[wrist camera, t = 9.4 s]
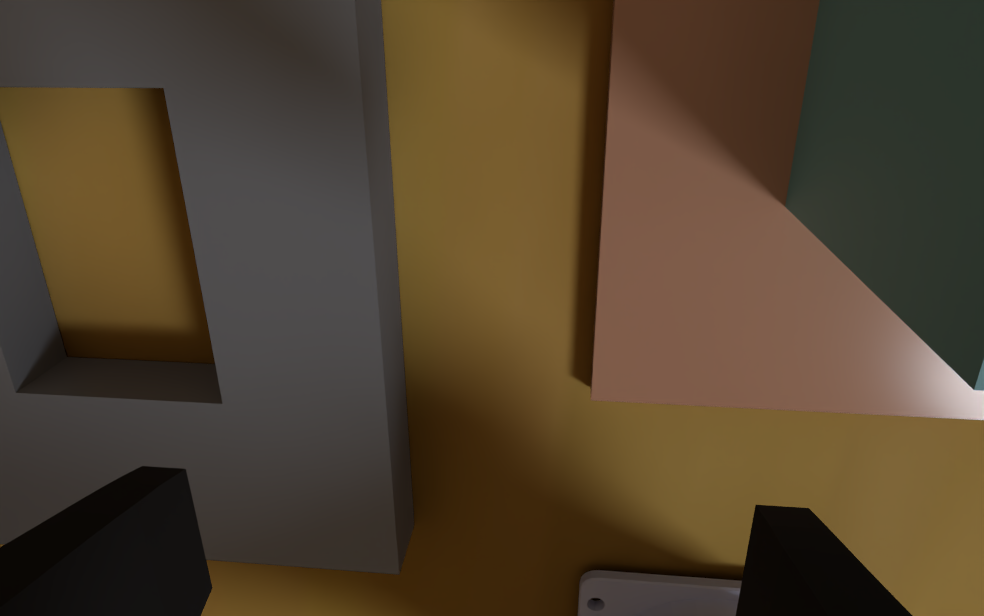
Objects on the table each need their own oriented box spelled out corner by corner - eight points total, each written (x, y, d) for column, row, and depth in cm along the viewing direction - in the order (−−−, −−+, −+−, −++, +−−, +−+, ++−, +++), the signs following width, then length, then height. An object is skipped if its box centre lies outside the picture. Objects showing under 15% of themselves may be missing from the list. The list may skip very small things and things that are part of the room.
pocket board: (414, 524, 21) (399, 574, 19) (-15, 495, 22) (-67, 538, 21) (368, -198, 14) (336, -228, 12) (-262, -175, 15) (-377, -200, 13)
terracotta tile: (1078, 412, 17) (1095, 425, 17) (590, 388, 18) (590, 400, 18) (1421, -468, 11) (1465, -493, 10) (638, -417, 12) (641, -437, 12)
